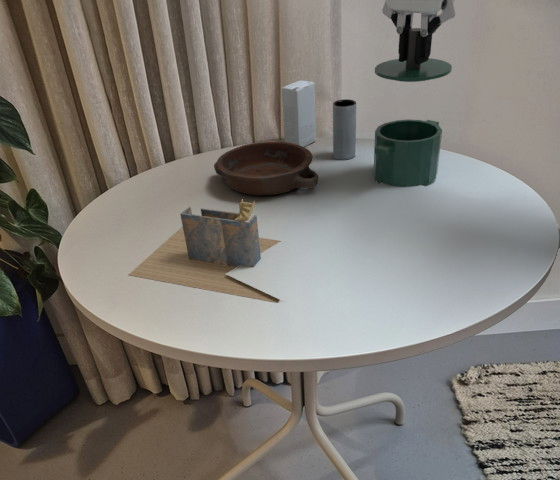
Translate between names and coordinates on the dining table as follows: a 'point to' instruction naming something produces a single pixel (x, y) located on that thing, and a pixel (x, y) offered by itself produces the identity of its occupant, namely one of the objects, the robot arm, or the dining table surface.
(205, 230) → the ruin model on sheet
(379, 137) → the pot
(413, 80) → the lid
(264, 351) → the dining table surface
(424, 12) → the robot arm
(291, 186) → the dish
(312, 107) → the cosmetic box
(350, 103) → the grey cylinder
